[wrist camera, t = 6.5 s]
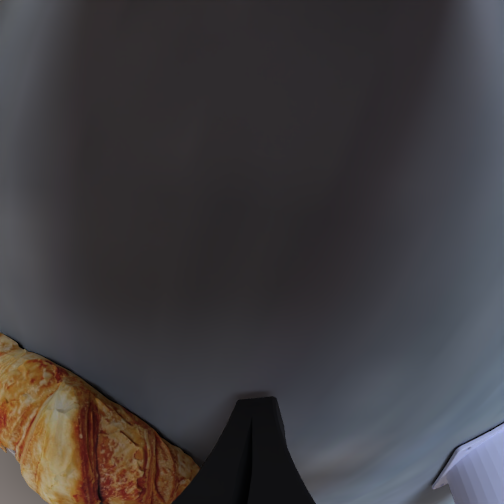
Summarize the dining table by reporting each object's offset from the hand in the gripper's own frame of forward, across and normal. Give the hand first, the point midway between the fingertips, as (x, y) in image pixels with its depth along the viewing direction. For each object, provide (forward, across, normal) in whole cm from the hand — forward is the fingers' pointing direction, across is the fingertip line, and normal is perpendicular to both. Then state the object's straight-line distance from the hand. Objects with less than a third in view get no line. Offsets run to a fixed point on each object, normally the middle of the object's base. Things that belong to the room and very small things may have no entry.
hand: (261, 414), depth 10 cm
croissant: (+2, +11, +2) cm, 11 cm away
